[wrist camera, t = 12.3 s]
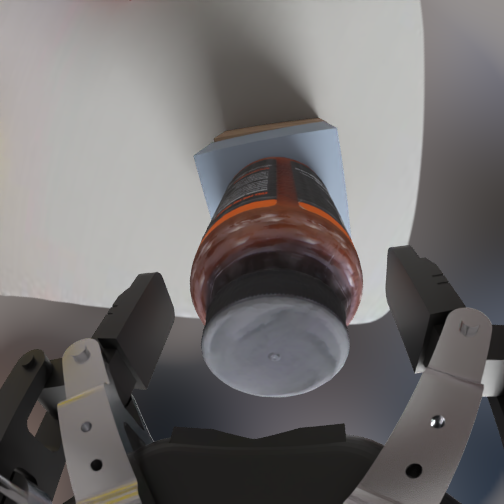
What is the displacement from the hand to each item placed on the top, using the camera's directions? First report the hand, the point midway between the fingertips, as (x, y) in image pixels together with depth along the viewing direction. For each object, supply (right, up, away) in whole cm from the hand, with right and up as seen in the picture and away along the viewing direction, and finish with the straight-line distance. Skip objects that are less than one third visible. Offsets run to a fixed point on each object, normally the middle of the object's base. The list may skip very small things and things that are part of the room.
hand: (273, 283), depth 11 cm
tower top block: (+1, +6, +12) cm, 13 cm away
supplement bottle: (+1, +4, +7) cm, 8 cm away
